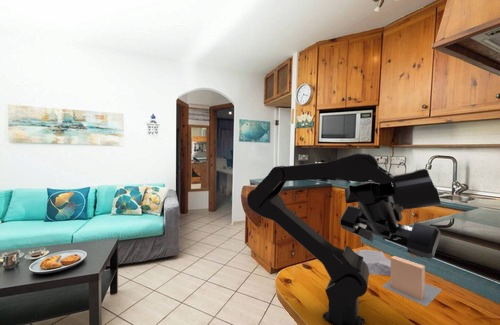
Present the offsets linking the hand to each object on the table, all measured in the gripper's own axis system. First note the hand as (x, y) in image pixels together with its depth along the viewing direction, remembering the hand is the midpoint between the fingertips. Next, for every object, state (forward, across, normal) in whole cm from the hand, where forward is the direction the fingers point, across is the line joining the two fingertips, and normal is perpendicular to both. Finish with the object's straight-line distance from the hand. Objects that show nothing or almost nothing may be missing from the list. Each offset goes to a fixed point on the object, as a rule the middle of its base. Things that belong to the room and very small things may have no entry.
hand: (391, 247), depth 54 cm
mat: (+17, -2, +2) cm, 17 cm away
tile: (+15, -2, +4) cm, 15 cm away
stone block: (+21, +10, -1) cm, 23 cm away
